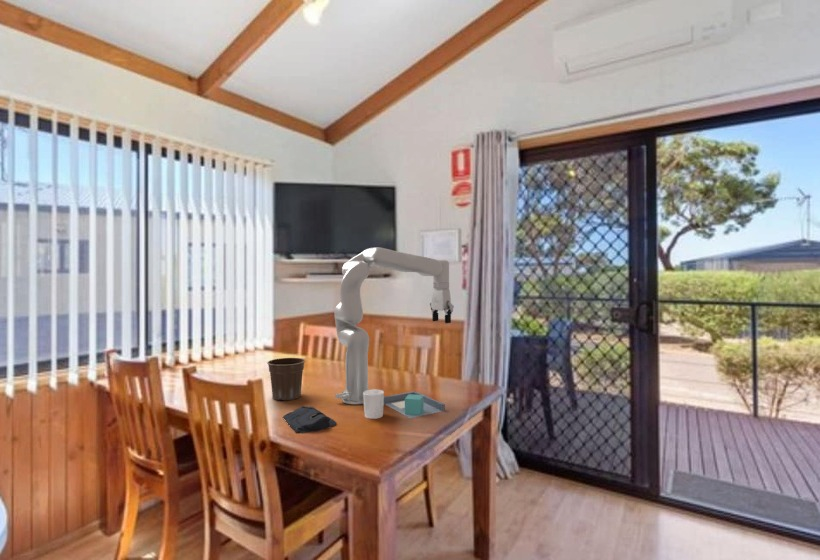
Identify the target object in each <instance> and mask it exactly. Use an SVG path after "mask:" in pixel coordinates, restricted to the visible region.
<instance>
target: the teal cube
mask: <svg viewBox="0 0 820 560" xmlns="http://www.w3.org/2000/svg"><path fill="white" fill-rule="evenodd" d="M423 395H424V394H423ZM423 395H413V394H408V395H407V397H406V398H405V414H409V415H421V413H422V412H423Z"/></svg>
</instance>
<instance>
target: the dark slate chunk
mask: <svg viewBox="0 0 820 560" xmlns="http://www.w3.org/2000/svg"><path fill="white" fill-rule="evenodd" d="M283 418H284V419H285V420H286V421H285V420H284V419H283ZM282 419H283V420H284V421H285V423H286V422H287V423H288V424H287V423H286V424H287V425H288V426H289V425H290V426H289V427H290V428H291V429H292V430H293V431H294V432H295V433H296V434H302V435H303V434H307V433H311V432H319V431H323V430H327V429H329V428H333V427H335V426H337V421H336V420H334V419H333V418H331V417H329V416H327V415H326V414H324V413H323V412H321V411H320V410H318V409H317V408H316V407H314V406H299V407H297V408H295V409H294V410H292V411H290V412H288V413H286V414H284V415H283V416H282Z"/></svg>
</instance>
